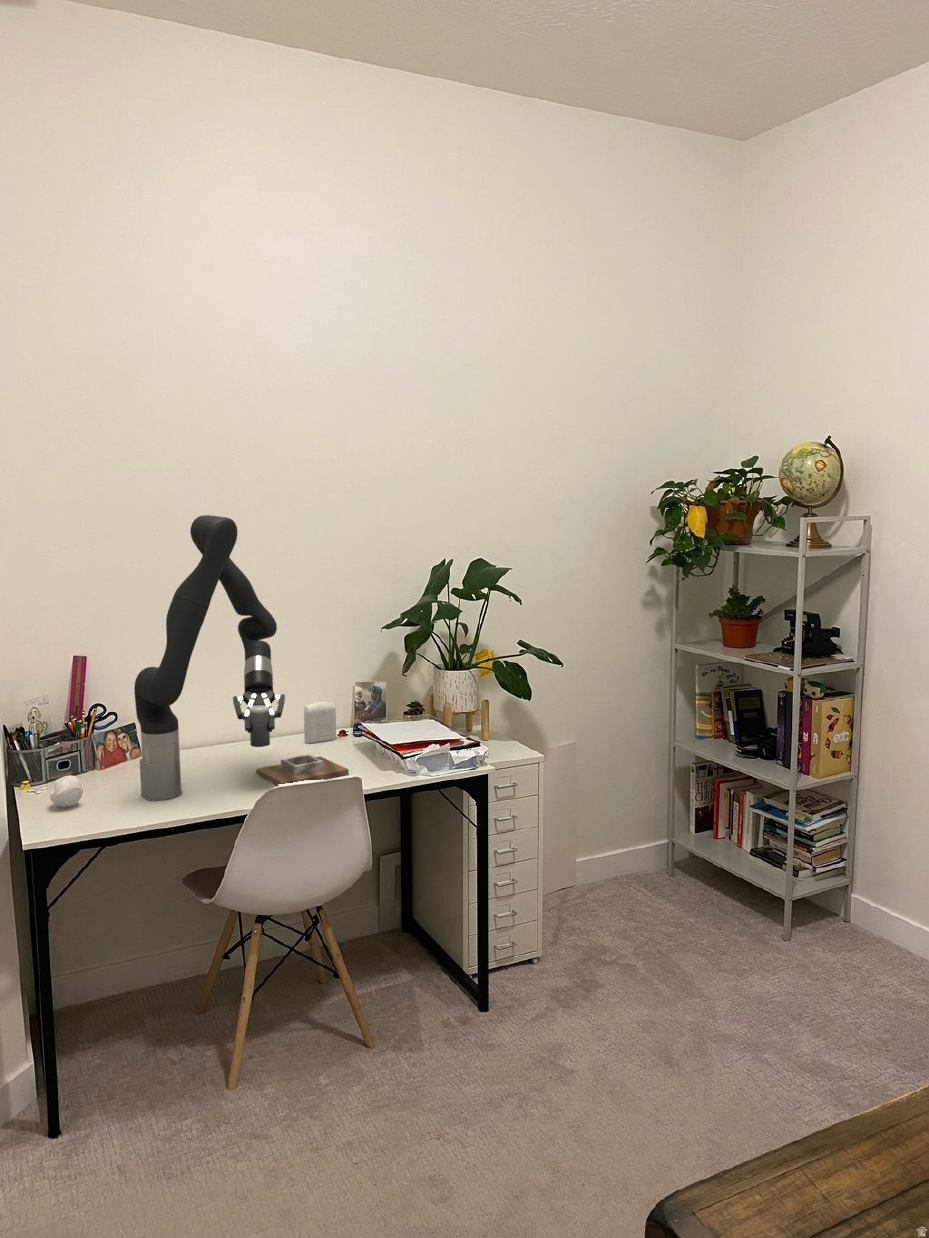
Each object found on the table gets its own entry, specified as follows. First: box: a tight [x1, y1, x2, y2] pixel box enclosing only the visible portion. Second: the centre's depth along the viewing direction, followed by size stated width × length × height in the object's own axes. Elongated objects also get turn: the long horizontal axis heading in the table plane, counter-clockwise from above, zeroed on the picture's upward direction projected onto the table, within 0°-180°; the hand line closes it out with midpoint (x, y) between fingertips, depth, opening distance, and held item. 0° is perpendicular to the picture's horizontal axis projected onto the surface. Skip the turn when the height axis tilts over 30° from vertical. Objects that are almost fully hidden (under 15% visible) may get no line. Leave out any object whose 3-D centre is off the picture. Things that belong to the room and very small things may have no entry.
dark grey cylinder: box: [249, 705, 271, 748], centre depth 251 cm, size 5×5×10 cm
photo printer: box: [303, 701, 337, 744], centre depth 298 cm, size 10×4×12 cm, turn 123°
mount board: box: [255, 753, 350, 786], centre depth 264 cm, size 20×16×4 cm
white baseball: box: [49, 775, 84, 808], centre depth 238 cm, size 8×8×8 cm
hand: (259, 730), depth 249 cm, fingers closed on dark grey cylinder, 5 cm apart
